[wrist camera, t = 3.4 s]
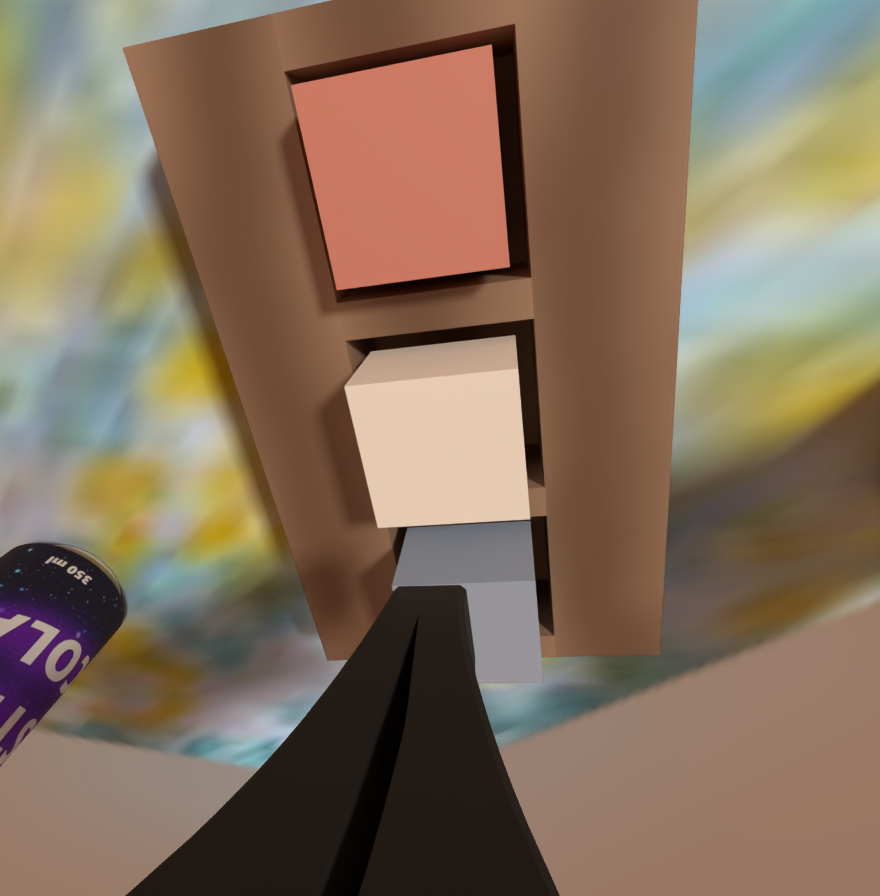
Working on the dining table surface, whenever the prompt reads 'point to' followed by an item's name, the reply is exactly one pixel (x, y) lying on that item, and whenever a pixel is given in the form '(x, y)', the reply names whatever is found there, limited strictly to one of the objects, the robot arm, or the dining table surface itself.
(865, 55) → the dining table surface
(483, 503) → the ivory key
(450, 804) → the robot arm
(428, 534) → the grey block
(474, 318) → the brown slotted tray
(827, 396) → the dining table surface
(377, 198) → the red key
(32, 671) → the beverage can
